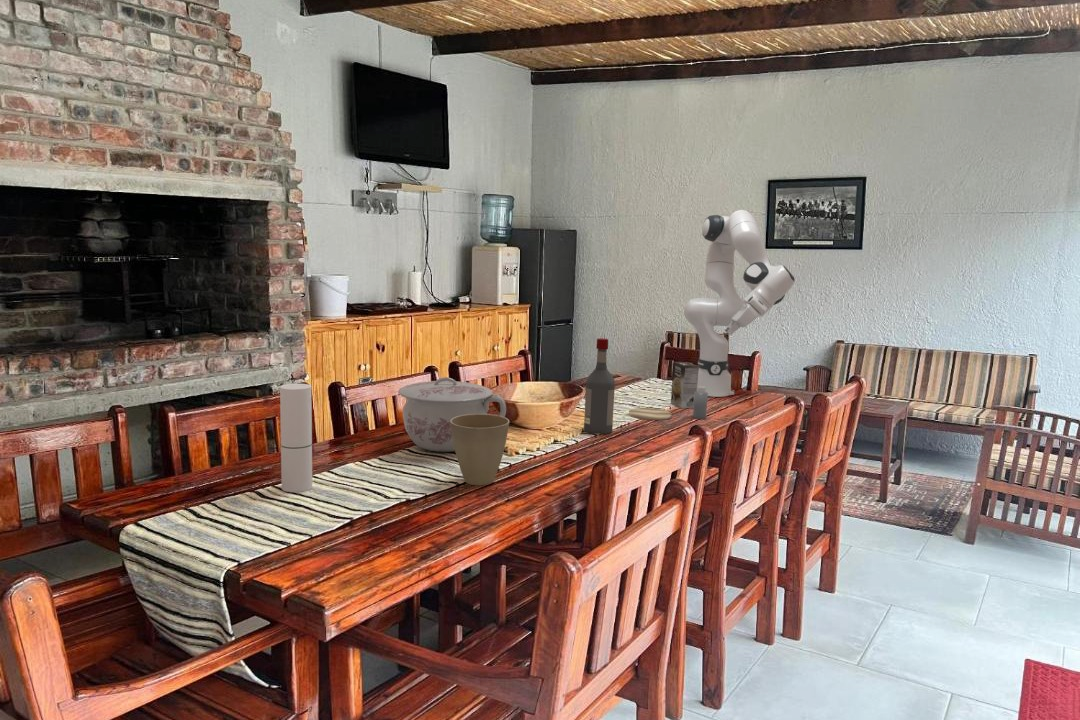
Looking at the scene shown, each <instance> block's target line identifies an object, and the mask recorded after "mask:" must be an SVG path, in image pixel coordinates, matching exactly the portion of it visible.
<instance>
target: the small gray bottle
mask: <svg viewBox="0 0 1080 720" xmlns="http://www.w3.org/2000/svg"><path fill="white" fill-rule="evenodd" d="M708 397H709V396H708V393H707V392H705V387H698V388H697V391H696V392H695V393H694V408H692V409H693V410H692V418H693V419H698V420H705V419H707V409H708V408H707V407H708Z"/></svg>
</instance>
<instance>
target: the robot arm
mask: <svg viewBox="0 0 1080 720" xmlns="http://www.w3.org/2000/svg"><path fill="white" fill-rule="evenodd" d="M702 236H703V238H704V239H705V240H706V241H708V242H710V244H709V248H708V250H707V251H708V252H707V254H706V263H705V276H704V278H705V279H704V282H705V285H706V287H708V288H709V289H710V290H712V291H713V292H715V293H717V294H718V296H719V297H718V298H716V297H715V298H714V297H713V298H712V297H698V298H697V297H695V298H690V299H689V300H688V301H687V302H686V304H685V306H684V309H683V310H684V311H683V315H684V318H685V319H686V321H687V322H688V323H689V324H691V325H692V327H694V329H695V330H696V332H697V335H698V338H699V357H698V361H697V366H699V372H698V384H697V388H698V387H705V392H707V393H708V397H714V398H715V397H716V398H718V397H719V398H721V397H723V398H724V397H728V396H732V395H733V396H734V395H735V391H733V390H731V389H732V387H731V385H732V375H731V373H730V372H729V371H728V368H729V360H728V355H729V354H728V353H729V341H728V340H727V338H726V337H725V336H724V335H721V334H720V333H718V332H717V331H715V329H714V327H716V326H718V327H726V328H725V329H724V331H725V333H726V334H728V335H730V336H732V335H733V334H734V333H735V332H736V331H738V330H739V329H740V328H746V327H748V326H749V324H751V323H753V321H755V320H756V319H757V318H759V317H761V318H763V316H764V315H766V313H767V312H768V311H770V310H771V309H772V307H774V305H778V304H780V303H781V302H782V301H783V300H784V298H785V296H786V294H787V293H788V292H789V290H790V289H791V288H792V287H793V286H794V284H795V282H796V281H795V277H794V275H793V274H792V273H791V272H790V270H789V269H788V268H787V267H786V266H785V265H783V264H778V265H772V263H771V262H770V259H769V257H768V254H767V251H766V248H765V247H766V246H765V244H764V240H763V237H762V234H761V230H760V228H759V226H758V223H757V221H756V220H755V218H754V216H753V215H752V214H751V213H750V212H749V211H747V210H745V209H738V210H736V211H734V212H732V213H731V214H730V216H729V215H719V214H713V215H712V214H711V215H709V216H707V217H706V218H705V220H704V221H703V225H702ZM735 251H737V252H738V254H739V255H740V256H741V257H742V258H743V259H744V260H745V261H746V262H747V263H748V266H747V267H746V269H745V270H744V273H743V277H742V278H743V282H745V284H746V285H747V287H748V288H749V289H750V290H751V292H750V293H748V294H747V295H746V296H745V297H744V298H743V299H742V297H741V296H740V295H739V293H737V290H736V288H735V283H734V281H735V280H734V269H735Z"/></svg>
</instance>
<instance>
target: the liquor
mask: <svg viewBox="0 0 1080 720" xmlns="http://www.w3.org/2000/svg"><path fill="white" fill-rule="evenodd" d="M596 349H597V352H596V353H597V354H596V364H595V368H594V369H593V370H592V372H590V374H589V375H588V376H587V378H586V382H585V397H584V398H585V399H584V418H583V420H584V422H583V429H584V432H585V431H586V433H589V434H595V433H600V434H601V435H607V434H608V435H609V434H611V433H612V432H613V426H614V425H613V424H614V405H615V388H616V387H615V386H616V384H615V383H616V380H615V378H614V377H613V375H612V373H611V372H610V371H609V370H608V368H607V367H608V365H607V355H608V354H607V351H608V349H609V338H603V337H602V338H601V337H600V338H597V339H596ZM600 434H599V435H600Z"/></svg>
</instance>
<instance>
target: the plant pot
mask: <svg viewBox="0 0 1080 720" xmlns="http://www.w3.org/2000/svg"><path fill="white" fill-rule="evenodd" d="M450 424H451V431H452V438H453V443H454V448H455V452H454V453H455V454H456V459H457V462H458V466H459V468H460V472H461V474H462V477H463V480H464V482H465V483H466V484H468V485H472V486H486V485H487V486H489V485H491V484H492V483H494V481H495V479H496V476H497V474H498V471H499V468H500V464H501V463H502V458H503V455H504V451H505V448H506V443H507V439H508V433H509V428H510V427H509V425H510V419H508V418H507V417H506V416H504V417H502V416H499V415H497V414H490V413H487V414H468V415H461V416H457V417H454V418H452V419H451V420H450Z"/></svg>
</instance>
